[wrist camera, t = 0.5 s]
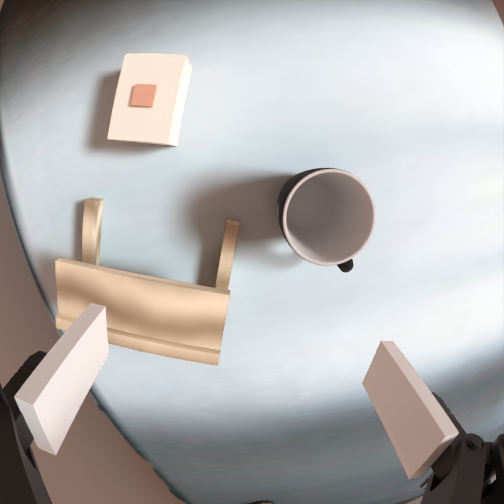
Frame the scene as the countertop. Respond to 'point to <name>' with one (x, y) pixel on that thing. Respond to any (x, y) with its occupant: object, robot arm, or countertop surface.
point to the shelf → (146, 299)
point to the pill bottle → (264, 502)
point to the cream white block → (150, 99)
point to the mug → (326, 216)
